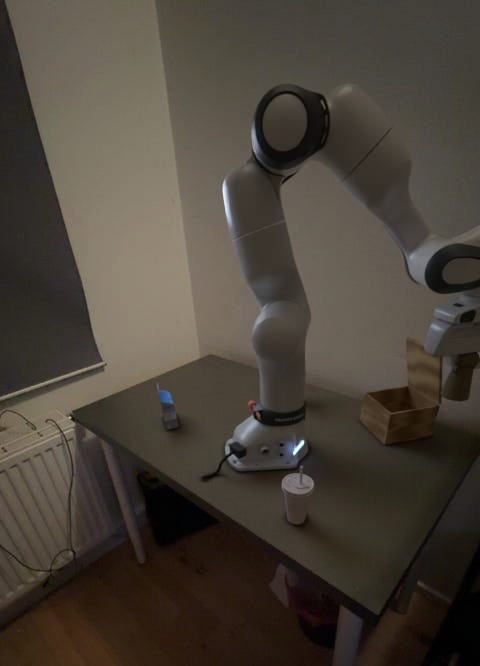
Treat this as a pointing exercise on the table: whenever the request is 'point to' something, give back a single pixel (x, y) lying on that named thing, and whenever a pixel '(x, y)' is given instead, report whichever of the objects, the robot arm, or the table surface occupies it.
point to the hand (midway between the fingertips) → (461, 370)
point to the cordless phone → (168, 409)
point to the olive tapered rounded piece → (460, 378)
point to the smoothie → (297, 495)
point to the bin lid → (424, 370)
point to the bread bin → (398, 414)
